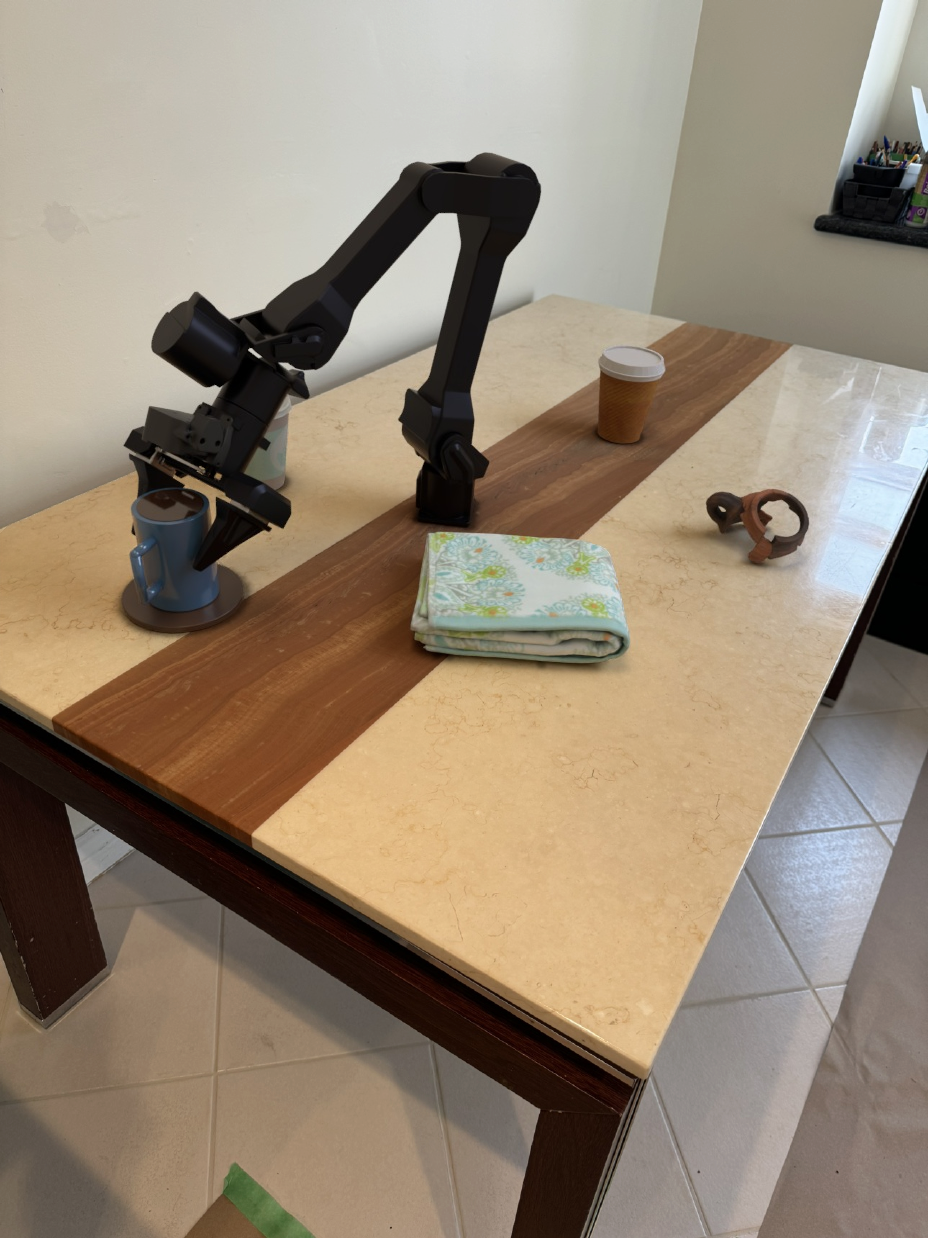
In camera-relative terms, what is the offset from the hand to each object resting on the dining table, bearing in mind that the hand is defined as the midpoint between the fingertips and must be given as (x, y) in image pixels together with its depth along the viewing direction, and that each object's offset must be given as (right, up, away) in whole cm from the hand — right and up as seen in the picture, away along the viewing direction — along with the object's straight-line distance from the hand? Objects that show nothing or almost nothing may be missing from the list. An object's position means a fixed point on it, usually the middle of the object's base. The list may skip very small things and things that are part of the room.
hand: (165, 552), depth 85 cm
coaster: (0, -4, +5) cm, 6 cm away
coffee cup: (+3, +11, +26) cm, 28 cm away
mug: (0, -4, +3) cm, 5 cm away
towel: (+35, -6, +7) cm, 36 cm away
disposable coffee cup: (+52, +21, +45) cm, 72 cm away
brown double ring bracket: (+64, +3, +22) cm, 67 cm away
